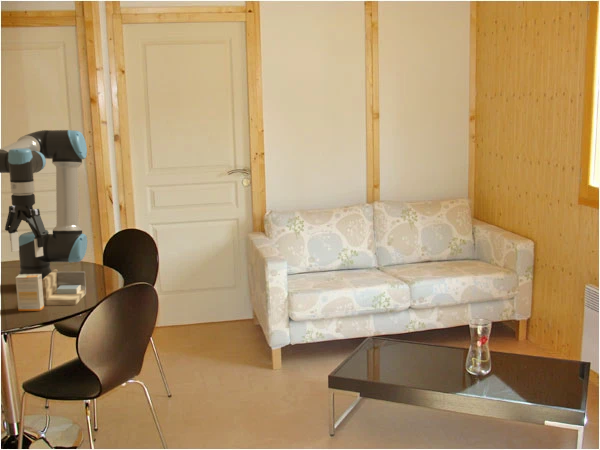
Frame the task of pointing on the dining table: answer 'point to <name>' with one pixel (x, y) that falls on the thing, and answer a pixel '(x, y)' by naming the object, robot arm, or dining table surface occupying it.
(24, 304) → the supplement box
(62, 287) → the flat book
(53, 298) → the shelf
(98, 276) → the dining table surface
